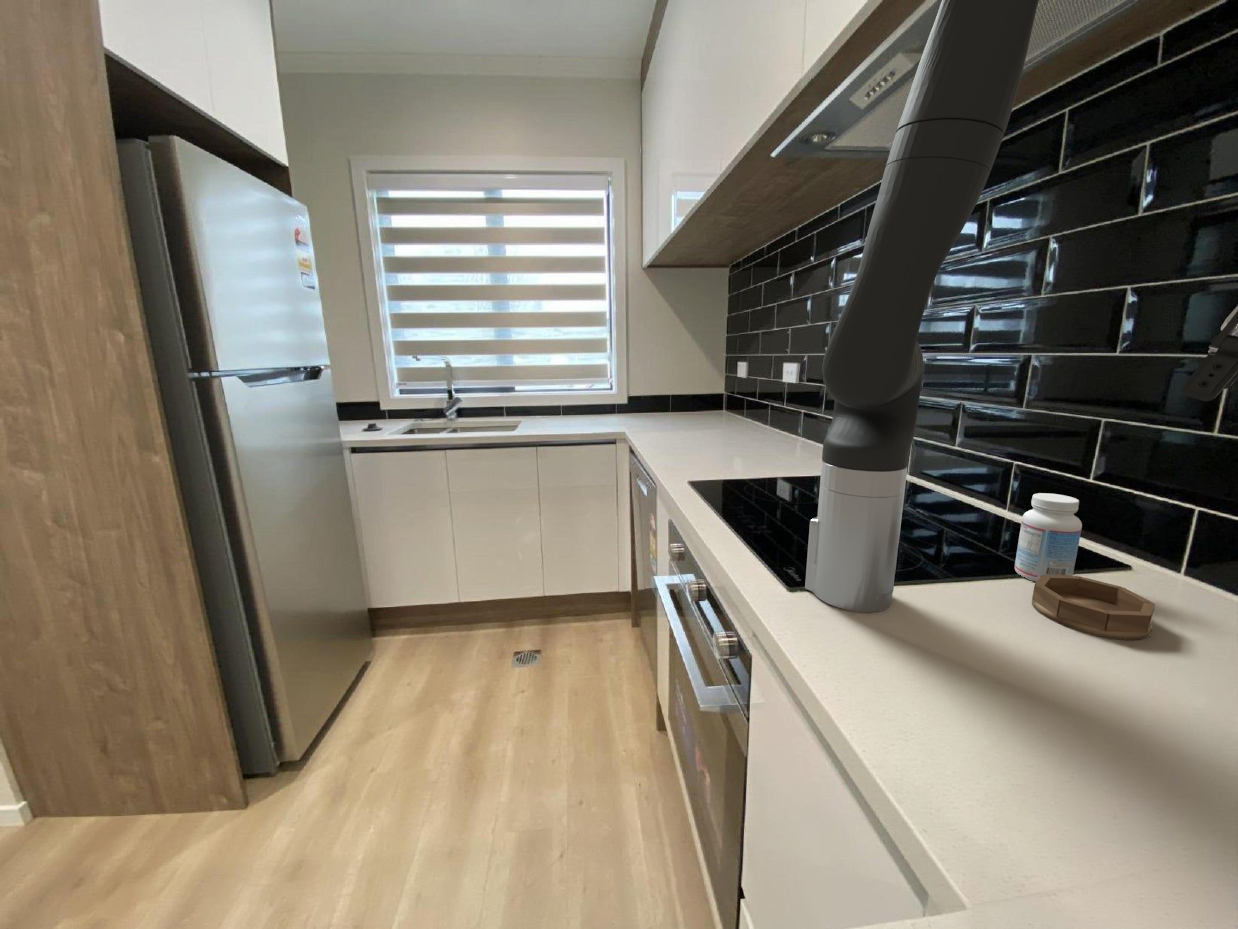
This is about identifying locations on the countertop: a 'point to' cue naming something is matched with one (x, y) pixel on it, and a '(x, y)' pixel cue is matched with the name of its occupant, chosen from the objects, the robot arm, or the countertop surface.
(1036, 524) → the pill bottle
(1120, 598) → the bowl
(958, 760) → the countertop surface
